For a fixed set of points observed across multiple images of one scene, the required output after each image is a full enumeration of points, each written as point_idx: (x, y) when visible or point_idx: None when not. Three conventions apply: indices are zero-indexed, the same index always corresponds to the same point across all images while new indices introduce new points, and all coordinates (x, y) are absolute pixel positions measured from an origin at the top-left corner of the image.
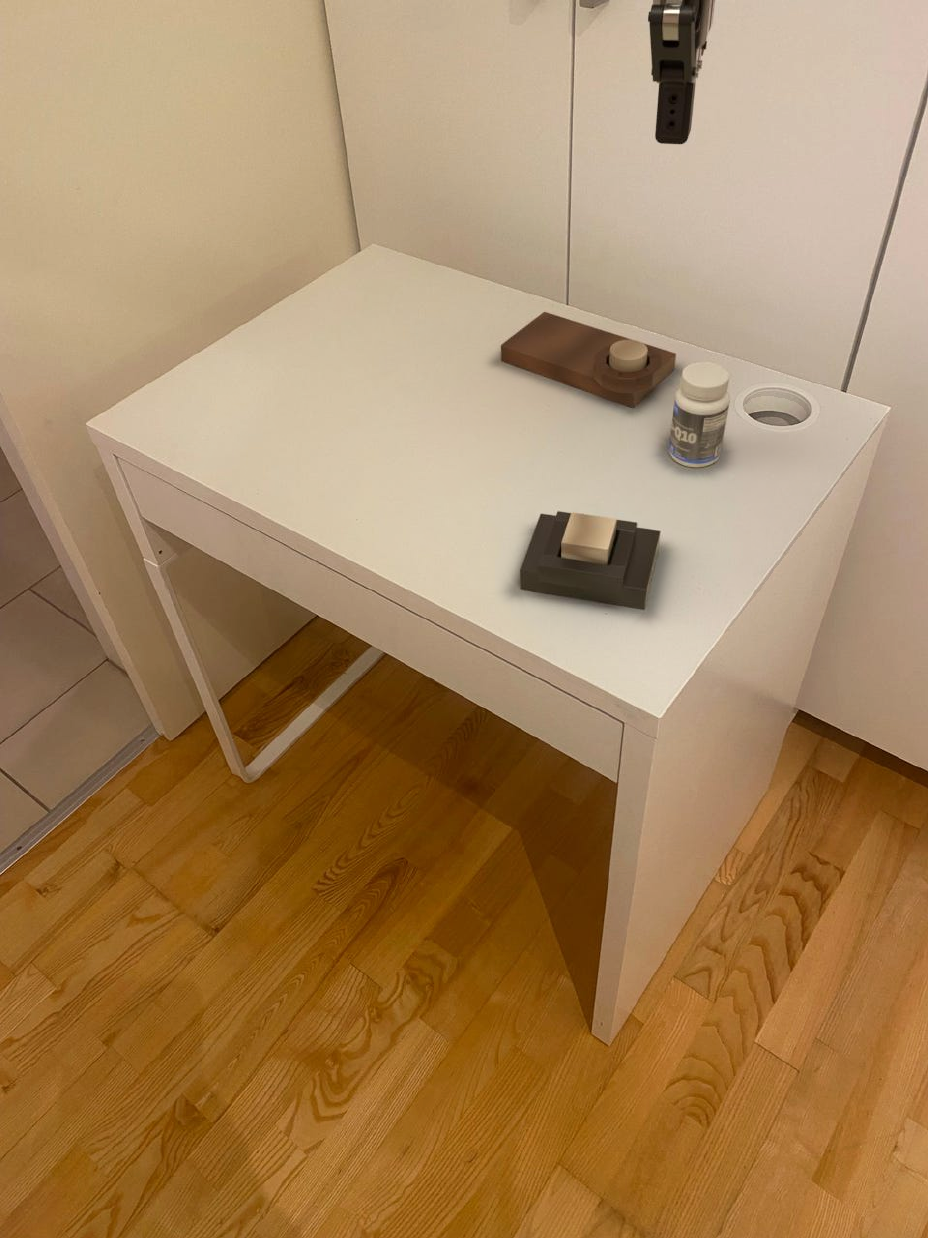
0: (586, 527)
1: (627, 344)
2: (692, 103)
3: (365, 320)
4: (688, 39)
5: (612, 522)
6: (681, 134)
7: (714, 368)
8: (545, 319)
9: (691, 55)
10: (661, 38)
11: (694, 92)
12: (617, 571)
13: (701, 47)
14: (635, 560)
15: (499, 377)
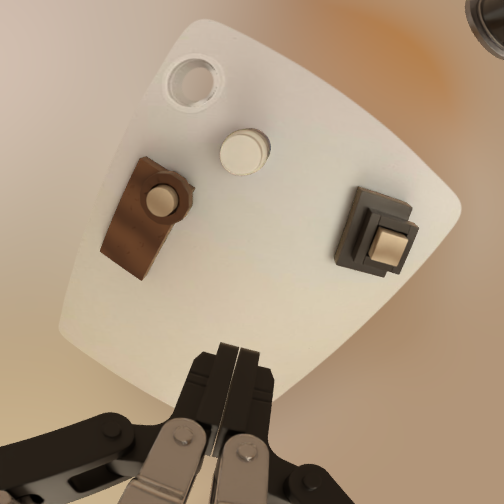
0: (386, 251)
1: (153, 202)
2: (230, 391)
3: (120, 343)
4: None
5: (385, 234)
6: (271, 373)
7: (230, 146)
8: (108, 250)
9: None
10: None
11: (209, 398)
12: (413, 230)
13: (162, 459)
14: (388, 210)
15: (164, 276)
